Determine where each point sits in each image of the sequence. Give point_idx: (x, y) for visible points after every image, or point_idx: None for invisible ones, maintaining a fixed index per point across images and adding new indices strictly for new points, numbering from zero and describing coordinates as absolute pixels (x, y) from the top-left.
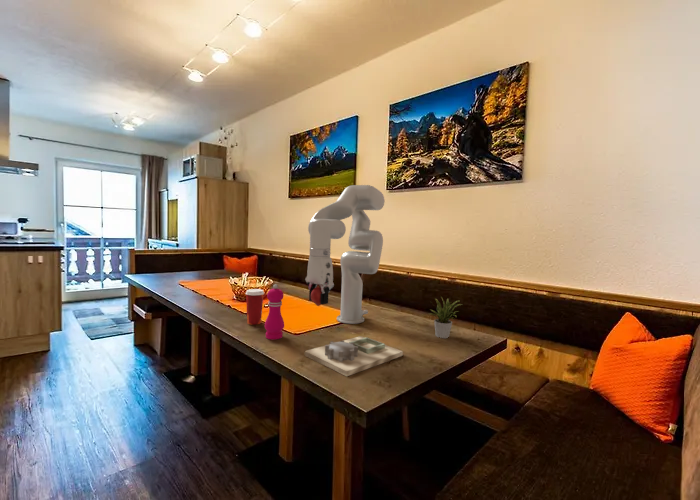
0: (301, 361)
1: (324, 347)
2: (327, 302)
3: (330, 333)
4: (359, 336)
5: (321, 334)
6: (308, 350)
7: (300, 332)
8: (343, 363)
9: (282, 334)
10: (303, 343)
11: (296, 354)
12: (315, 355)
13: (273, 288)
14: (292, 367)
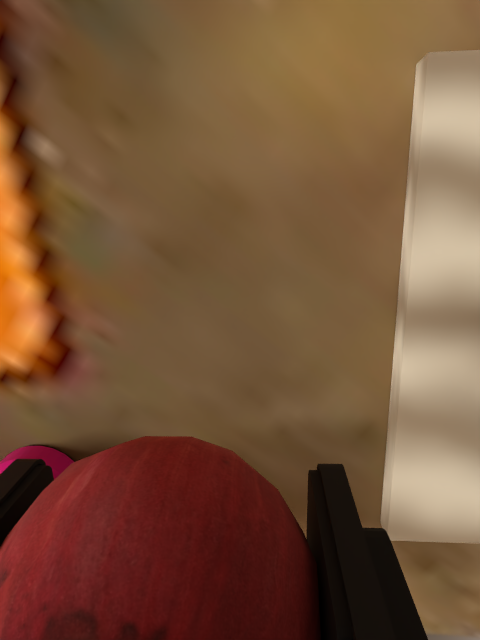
0: (427, 570)
1: (420, 432)
2: (343, 480)
3: (160, 160)
4: (429, 69)
5: (145, 232)
6: (394, 523)
7: (38, 322)
8: None
9: (62, 465)
10: (226, 426)
11: None
12: (475, 537)
13: None
14: (452, 628)
